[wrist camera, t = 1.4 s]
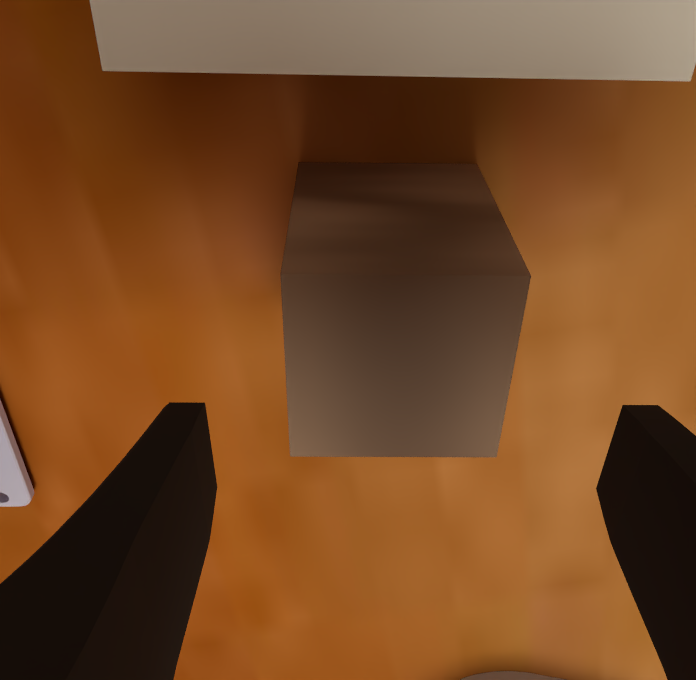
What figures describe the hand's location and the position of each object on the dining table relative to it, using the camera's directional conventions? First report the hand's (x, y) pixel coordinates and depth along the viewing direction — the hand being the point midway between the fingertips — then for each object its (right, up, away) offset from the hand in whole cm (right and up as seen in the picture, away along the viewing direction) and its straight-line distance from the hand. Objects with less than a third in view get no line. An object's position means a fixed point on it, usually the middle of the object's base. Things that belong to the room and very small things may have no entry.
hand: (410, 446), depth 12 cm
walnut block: (0, +5, +7) cm, 8 cm away
